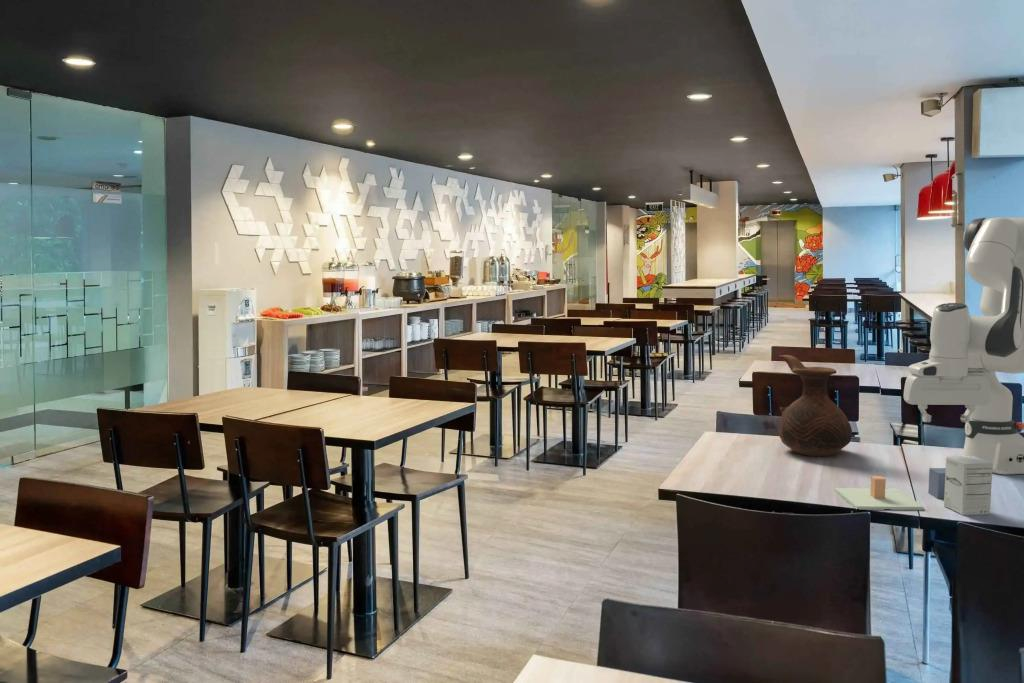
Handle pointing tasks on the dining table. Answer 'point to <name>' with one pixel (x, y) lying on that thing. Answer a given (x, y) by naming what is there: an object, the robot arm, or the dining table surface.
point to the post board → (878, 504)
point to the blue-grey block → (937, 482)
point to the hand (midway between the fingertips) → (945, 421)
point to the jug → (813, 415)
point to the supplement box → (968, 485)
